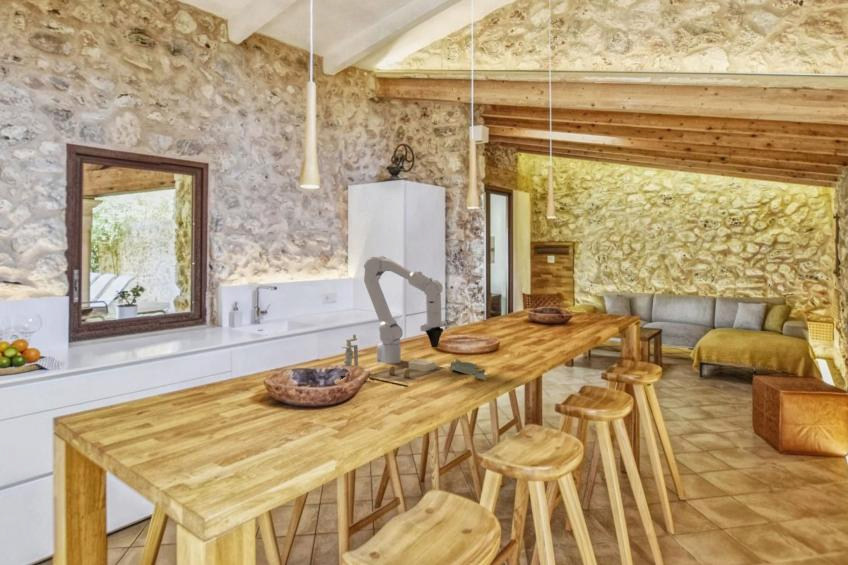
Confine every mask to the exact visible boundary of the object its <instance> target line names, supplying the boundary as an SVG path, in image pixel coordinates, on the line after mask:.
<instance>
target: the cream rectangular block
mask: <svg viewBox="0 0 848 565" xmlns="http://www.w3.org/2000/svg"><path fill="white" fill-rule="evenodd" d="M408 363H409V369H414V370H419V371H424V372H426V371H429V370H432V369H435V366H436V361H433V360H426V359H423V358H417V359H414V360H411V361H408Z"/></svg>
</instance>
